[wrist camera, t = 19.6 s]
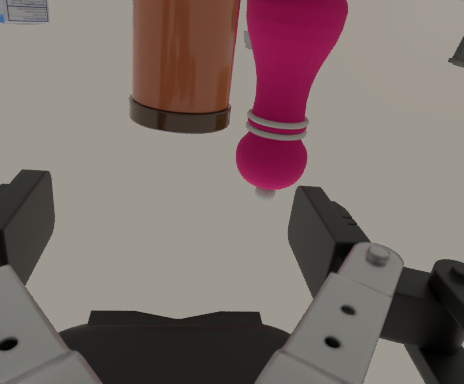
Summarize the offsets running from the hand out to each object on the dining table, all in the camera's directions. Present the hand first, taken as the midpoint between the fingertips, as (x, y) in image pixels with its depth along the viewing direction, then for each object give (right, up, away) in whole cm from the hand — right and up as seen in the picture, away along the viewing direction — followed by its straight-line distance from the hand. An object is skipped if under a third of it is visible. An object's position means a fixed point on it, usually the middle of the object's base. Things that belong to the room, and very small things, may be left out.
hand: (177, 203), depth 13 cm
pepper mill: (+7, +18, +14) cm, 23 cm away
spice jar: (0, +13, +5) cm, 14 cm away
